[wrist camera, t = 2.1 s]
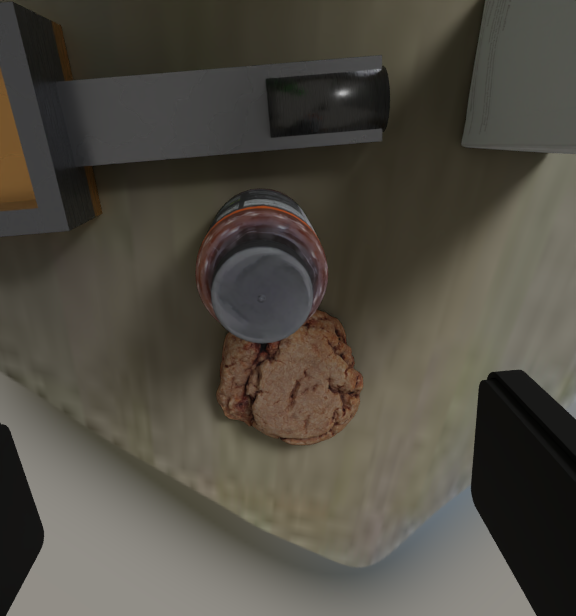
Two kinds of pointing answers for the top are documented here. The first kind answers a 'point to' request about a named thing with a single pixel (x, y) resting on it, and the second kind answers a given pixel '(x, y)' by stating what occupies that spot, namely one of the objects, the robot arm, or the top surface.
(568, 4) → the skincare box
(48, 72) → the grey long handled piece
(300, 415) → the cookie
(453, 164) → the top surface
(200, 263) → the supplement bottle
